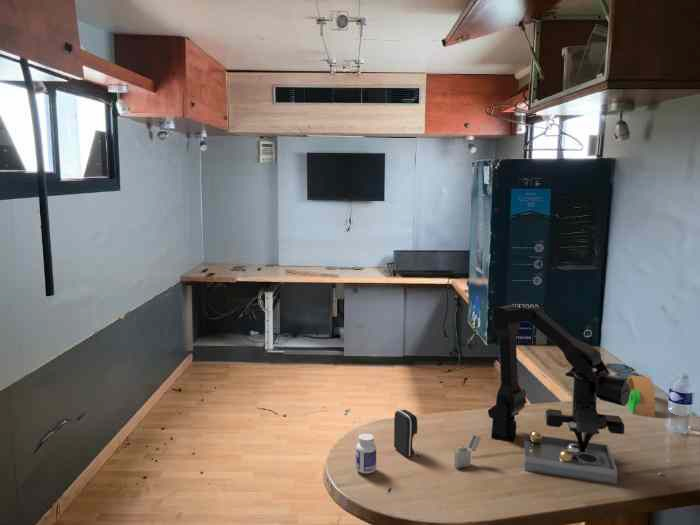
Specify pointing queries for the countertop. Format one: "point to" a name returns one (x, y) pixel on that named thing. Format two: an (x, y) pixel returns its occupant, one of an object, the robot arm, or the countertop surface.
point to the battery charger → (404, 431)
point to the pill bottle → (366, 454)
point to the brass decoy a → (535, 436)
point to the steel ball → (573, 449)
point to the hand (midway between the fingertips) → (582, 451)
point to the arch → (643, 395)
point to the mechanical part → (634, 400)
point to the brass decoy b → (565, 456)
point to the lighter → (466, 452)
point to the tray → (585, 466)
